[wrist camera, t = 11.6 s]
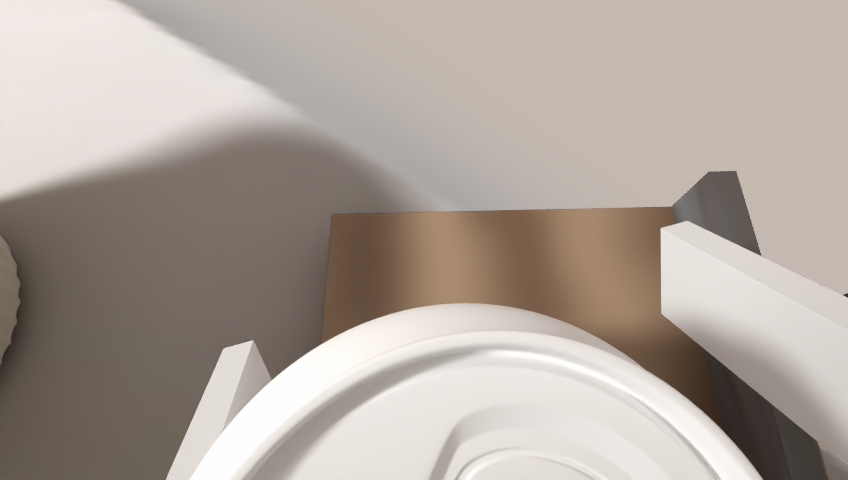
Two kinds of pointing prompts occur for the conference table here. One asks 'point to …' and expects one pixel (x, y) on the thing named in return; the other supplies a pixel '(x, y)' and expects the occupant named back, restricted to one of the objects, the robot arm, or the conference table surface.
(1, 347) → the canister
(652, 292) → the shelf board
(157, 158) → the conference table surface
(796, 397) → the robot arm
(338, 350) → the beverage can
